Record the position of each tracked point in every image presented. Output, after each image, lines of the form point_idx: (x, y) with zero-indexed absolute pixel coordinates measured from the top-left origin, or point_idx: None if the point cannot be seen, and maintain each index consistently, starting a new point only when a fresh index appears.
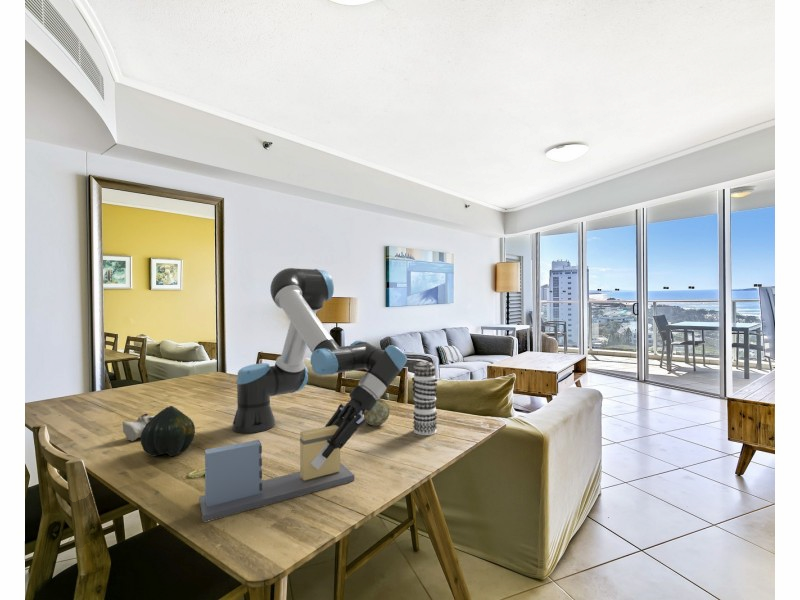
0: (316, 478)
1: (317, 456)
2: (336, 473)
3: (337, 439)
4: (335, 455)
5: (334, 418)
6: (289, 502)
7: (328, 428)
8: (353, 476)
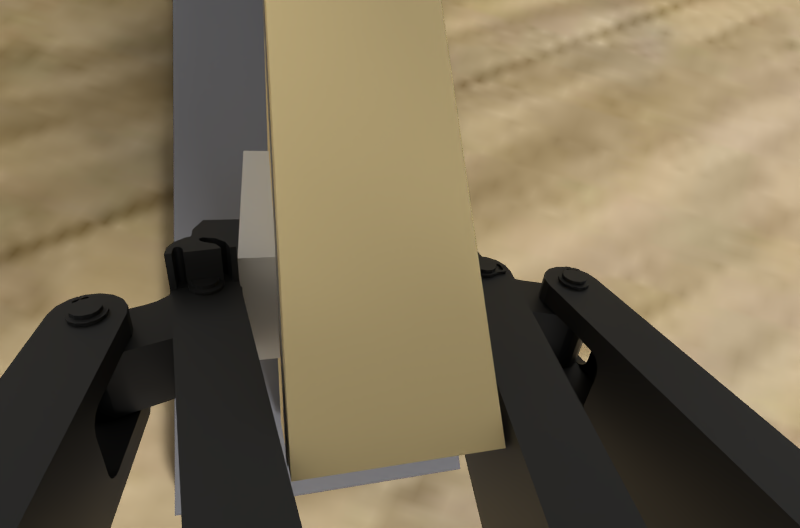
0: None
1: (242, 182)
2: (276, 389)
3: (49, 348)
4: (280, 382)
5: (739, 494)
6: (137, 64)
7: (373, 269)
8: (176, 505)
